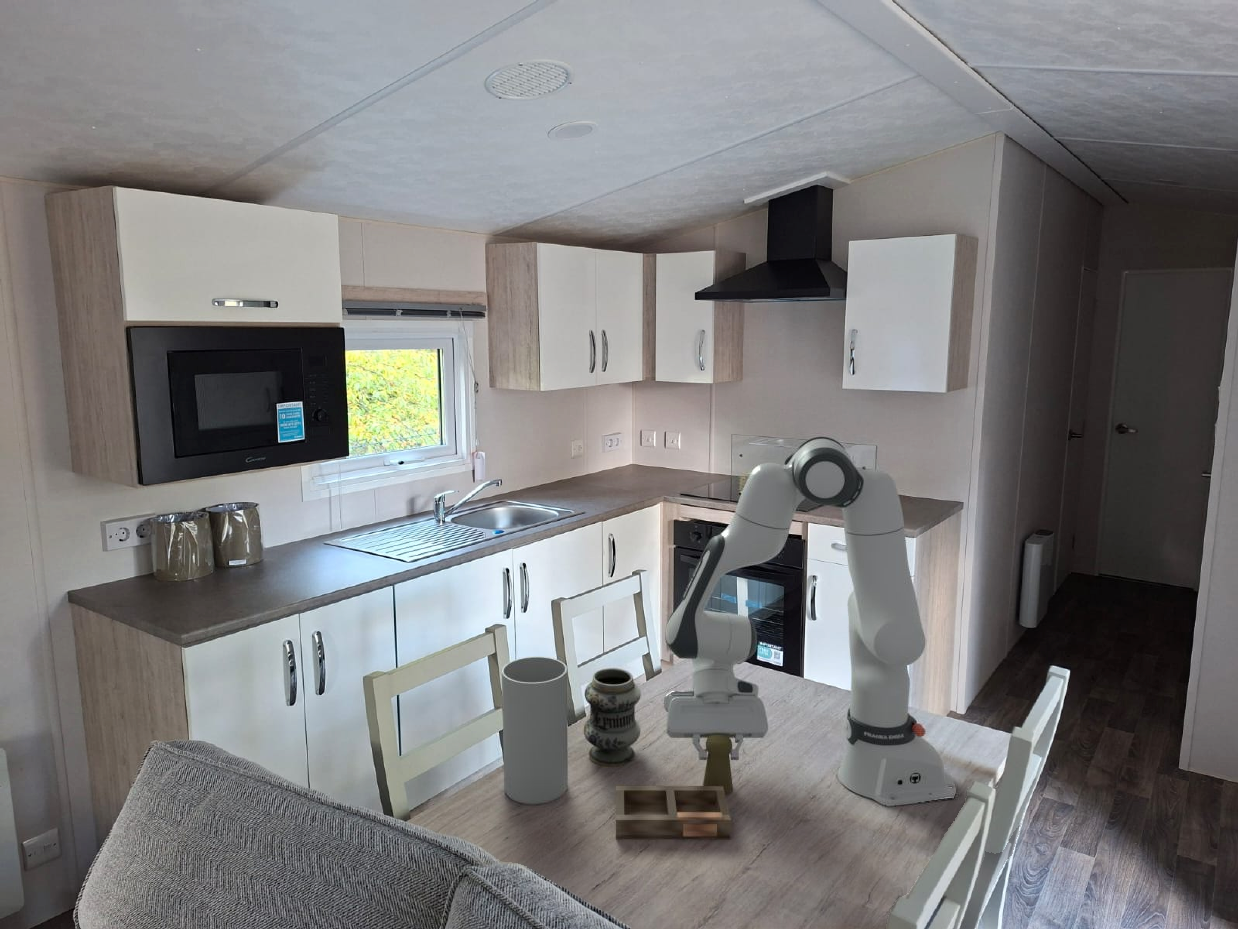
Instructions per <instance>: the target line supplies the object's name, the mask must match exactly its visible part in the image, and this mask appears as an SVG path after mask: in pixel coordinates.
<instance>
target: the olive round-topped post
mask: <svg viewBox="0 0 1238 929" xmlns="http://www.w3.org/2000/svg"><path fill="white" fill-rule="evenodd" d="M731 739H732V738H729V737H728V736H726V735H724V734H713V735H710V736H709V737H708V738H706V740H705V749H706V750H707V760H706V764H705V770H704V777H703V782H702V786H723V788H724V792H725V796H726V797H727V796H730V795H731V794H732V793H733V791H734V785H733V776H732V769H731V768H732V767H731V756H730V753H731V751H732V749H733V742H732V740H731Z"/></svg>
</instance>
